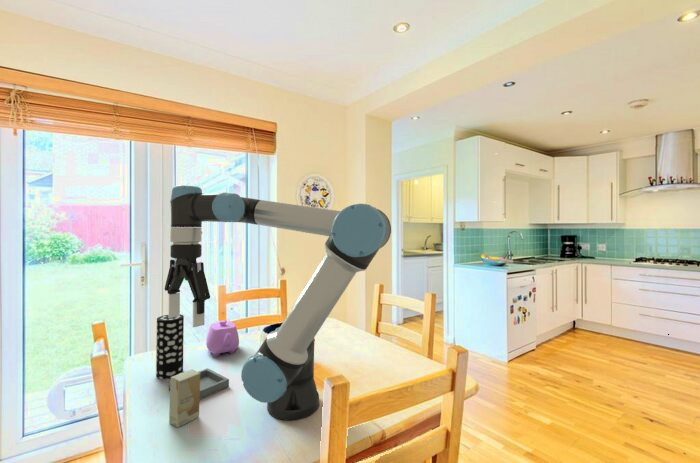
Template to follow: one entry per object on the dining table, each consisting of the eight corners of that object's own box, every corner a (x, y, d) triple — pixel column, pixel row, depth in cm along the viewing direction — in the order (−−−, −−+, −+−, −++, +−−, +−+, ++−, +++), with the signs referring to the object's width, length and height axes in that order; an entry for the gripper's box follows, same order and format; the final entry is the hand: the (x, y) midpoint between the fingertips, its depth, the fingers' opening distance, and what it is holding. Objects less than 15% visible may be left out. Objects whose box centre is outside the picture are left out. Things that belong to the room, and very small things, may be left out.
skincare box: (177, 428, 83) (178, 381, 83) (168, 422, 85) (169, 377, 85) (200, 416, 88) (201, 372, 88) (191, 411, 91) (191, 368, 91)
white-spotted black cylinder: (171, 380, 108) (171, 321, 108) (150, 377, 110) (150, 319, 110) (188, 369, 117) (189, 315, 116) (168, 367, 118) (169, 313, 118)
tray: (228, 386, 105) (228, 379, 105) (189, 404, 94) (189, 395, 94) (207, 375, 113) (207, 368, 112) (168, 390, 102) (168, 382, 102)
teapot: (202, 346, 139) (203, 317, 139) (232, 341, 146) (232, 313, 146) (211, 363, 122) (211, 330, 122) (244, 356, 129) (244, 325, 129)
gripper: (224, 244, 82) (224, 326, 83) (178, 241, 98) (178, 310, 98) (195, 245, 77) (195, 334, 77) (151, 241, 92) (151, 315, 92)
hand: (185, 321), depth 87 cm, fingers open, 13 cm apart
